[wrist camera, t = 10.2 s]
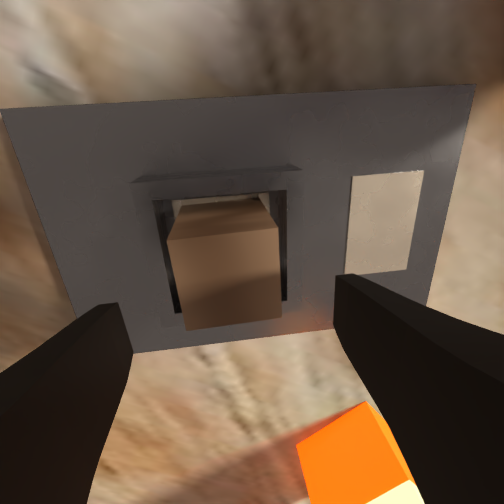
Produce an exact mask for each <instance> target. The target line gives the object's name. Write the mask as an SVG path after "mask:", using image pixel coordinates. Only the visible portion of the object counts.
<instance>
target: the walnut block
mask: <svg viewBox="0 0 504 504" xmlns="http://www.w3.org/2000/svg"><path fill="white" fill-rule="evenodd" d="M167 245H168V250H169V254H170V259H171V263H172V268H173V273H174V277H175V282H176V286H177V291H178V296H179V300H180V305H181V309H182V314H183V319H184V323H185V328H186V331H191V330H199V329H206V328H213V327H220V326H227V325H234V324H242V323H249V322H256V321H263V320H270V319H277V318H282V302H281V280H280V257H279V235H278V227H277V225H276V224H275V222H274V220H273V219H272V217H271V216H270V214H269V212H268V211H267V209H266V208H265V206H264V204H263V203H262V201H261V200H260V198H259V197H256V198H247V199H238V200H228V201H219V202H210V203H200V204H191V205H182V206H181V208H180V211H179V213H178V215H177V218H176V220H175V222H174V225H173V227H172V229H171V232H170V234H169V236H168V239H167Z"/></svg>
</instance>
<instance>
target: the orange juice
mask: <svg viewBox="0 0 504 504" xmlns="http://www.w3.org/2000/svg"><path fill="white" fill-rule="evenodd" d="M296 447H297V450H298V454H299V458H300V462H301V466H302V470H303V474H304V478H305V482H306V486H307V490H308V494H309V498H310V502H311V504H424V501H423V499H422V497H421V495H420V493H419V490H418V488H417V486H416V484H415V482H414V479H413V477H412V475H411V473H410V471H409V468H408V466H407V464H406V462H405V460H404V458H403V456H402V453H401V451H400V449H399V447H398V445H397V443H396V441H395V439H394V437H393V435H392V433H391V430H390V428H389V426H388V425H387V423H386V421H385V420H384V419H383V418H382V417H381V416H380V415H379V414H378V413H377V412H376V411H375V410H374V409H373V408H372V407H371V406H370V405H369V404H368V403H367V402H366V401H365V402H364V403H362V404H361V405H359V406H357V407H356V408H354V409H353V410H351V411H350V412H348V413H346V414H345V415H343V416H342V417H340V418H338V419H337V420H335V421H334V422H332V423H331V424H329V425H327V426H326V427H324V428H323V429H321V430H320V431H318V432H316V433H315V434H313V435H312V436H310V437H309V438H307V439H305V440H304V441H302V442H301V443H299V444H297V445H296Z"/></svg>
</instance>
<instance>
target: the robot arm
mask: <svg viewBox="0 0 504 504" xmlns="http://www.w3.org/2000/svg"><path fill="white" fill-rule="evenodd" d="M333 326H334V328H335V331H336V333H337V336H338V338H339V340H340V342H341V345H342V347H343V349H344V351H345V353H346V355H347V356H348V358H349V360H350V361H351V363H352V365H353V367H354V368H355V370H356V372H357V373H358V375H359V377H360V378H361V380H362V382H363V383H364V385H365V387H366V388H367V390H368V392H369V393H370V395H371V397H372V398H373V400H374V402H375V403H376V405H377V407H378V408H379V410H380V412H381V414H382V415H383V417H384V419H385V421H386V423H387V425H388V426H389V428H390V430H391V433H392V435H393V437H394V439H395V441H396V443H397V445H398V447H399V449H400V451H401V453H402V456H403V458H404V460H405V462H406V464H407V466H408V468H409V471H410V473H411V475H412V477H413V479H414V482H415V484H416V486H417V488H418V490H419V493H420V495H421V497H422V499H423V501H424V504H504V335H503V334H500V333H497V332H493V331H490V330H488V329H485V328H482V327H479V326H476V325H473V324H470V323H467V322H464V321H462V320H459V319H456V318H454V317H451V316H449V315H446V314H444V313H441V312H439V311H436V310H434V309H432V308H429V307H427V306H424V305H422V304H420V303H418V302H415V301H413V300H411V299H409V298H406V297H404V296H402V295H400V294H398V293H396V292H394V291H391V290H389V289H387V288H385V287H383V286H381V285H379V284H377V283H375V282H372V281H370V280H368V279H366V278H364V277H361V276H359V275H356V274H354V273H351V274H343V275H335V293H334V312H333ZM133 352H134V351H133V348H132V345H131V342H130V339H129V335H128V332H127V329H126V326H125V323H124V319H123V316H122V313H121V310H120V307H119V304H118V302H115V303H107V304H99V305H97V306H95V307H94V308H92V309H90V310H89V311H88V312H86V313H85V314H83V315H82V316H80V317H79V318H78V319H76V320H75V321H73V322H72V323H71V324H69V325H68V326H67V327H65V328H64V329H63V330H61V331H60V332H58V333H57V334H56V335H54V336H53V337H52V338H50V339H49V340H47V341H46V342H45V343H43V344H42V345H41V346H39V347H38V348H36V349H35V350H33V351H32V352H31V353H29V354H28V355H26V356H25V357H23V358H22V359H20V360H19V361H17V362H16V363H14V364H13V365H12V366H10V367H9V368H7V369H6V370H4V371H3V372H1V373H0V504H87V500H88V497H89V493H90V489H91V485H92V481H93V478H94V474H95V471H96V468H97V465H98V462H99V459H100V456H101V453H102V450H103V447H104V445H105V442H106V439H107V436H108V434H109V431H110V428H111V425H112V423H113V420H114V417H115V414H116V412H117V409H118V406H119V403H120V400H121V398H122V395H123V392H124V389H125V386H126V383H127V380H128V376H129V371H130V367H131V362H132V357H133Z"/></svg>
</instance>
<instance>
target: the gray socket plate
mask: <svg viewBox="0 0 504 504" xmlns="http://www.w3.org/2000/svg"><path fill="white" fill-rule="evenodd" d="M475 88H476V84H463V85H444V86H425V87H406V88H387V89H368V90H350V91H331V92H312V93H293V94H274V95H255V96H236V97H217V98H198V99H179V100H160V101H141V102H122V103H103V104H84V105H65V106H46V107H27V108H9V109H0V112H1V115H2V118H3V120H4V123H5V126H6V129H7V131H8V134H9V137H10V139H11V142H12V145H13V147H14V150H15V153H16V155H17V158H18V161H19V164H20V166H21V169H22V172H23V174H24V177H25V180H26V182H27V185H28V188H29V190H30V193H31V196H32V199H33V201H34V204H35V207H36V209H37V212H38V215H39V217H40V220H41V223H42V225H43V228H44V231H45V234H46V236H47V239H48V242H49V244H50V247H51V250H52V252H53V255H54V258H55V260H56V263H57V266H58V269H59V271H60V274H61V277H62V279H63V282H64V285H65V287H66V290H67V293H68V295H69V298H70V301H71V304H72V306H73V309H74V312H75V314H76V317H77V319H78V318H79V317H80V316H82V315H83V314H85V313H86V312H88V311H89V310H90V309H92V308H94V307H95V306H97V305H99V304H107V303H115V302H118V304H119V307H120V310H121V313H122V316H123V319H124V323H125V326H126V329H127V332H128V335H129V339H130V342H131V345H132V348H133V351H134V352H133V354H135V353H143V352H151V351H159V350H167V349H175V348H183V347H191V346H199V345H207V344H215V343H223V342H231V341H239V340H247V339H255V338H263V337H271V336H279V335H287V334H295V333H303V332H310V331H318V330H326V329H334V326H333V312H334V293H335V275H343V274H351V273H354V274H356V275H359V276H361V277H364V278H366V279H368V280H370V281H372V282H375V283H377V284H379V285H381V286H383V287H385V288H387V289H389V290H391V291H394V292H396V293H398V294H400V295H402V296H404V297H406V298H409V299H411V300H413V301H415V302H418V303H420V304H422V305H424V306H426V303H427V299H428V295H429V290H430V286H431V281H432V277H433V273H434V268H435V264H436V259H437V255H438V251H439V246H440V242H441V237H442V233H443V229H444V224H445V220H446V215H447V211H448V207H449V202H450V198H451V193H452V189H453V185H454V180H455V176H456V171H457V167H458V163H459V158H460V154H461V149H462V145H463V141H464V136H465V132H466V127H467V123H468V119H469V114H470V110H471V105H472V101H473V97H474V92H475ZM256 197H259V198H260V200H261V201H262V203H263V204H264V206H265V208H266V209H267V211H268V212H269V214H270V216H271V217H272V219H273V220H274V222H275V224H276V225H277V227H278V235H279V257H280V280H281V302H282V318H277V319H270V320H263V321H256V322H249V323H242V324H234V325H227V326H220V327H213V328H206V329H199V330H191V331H186V328H185V323H184V319H183V314H182V309H181V305H180V300H179V296H178V291H177V286H176V282H175V277H174V273H173V268H172V263H171V259H170V254H169V250H168V245H167V239H168V236H169V234H170V232H171V229H172V227H173V225H174V222H175V220H176V218H177V215H178V213H179V211H180V208H181V206H182V205H191V204H200V203H210V202H219V201H228V200H238V199H247V198H256Z"/></svg>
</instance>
